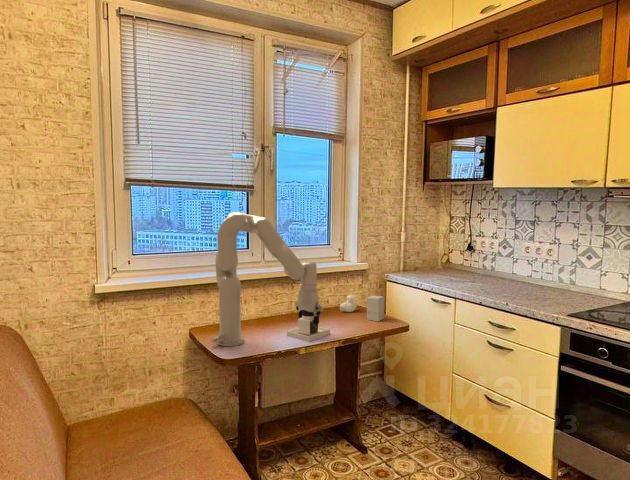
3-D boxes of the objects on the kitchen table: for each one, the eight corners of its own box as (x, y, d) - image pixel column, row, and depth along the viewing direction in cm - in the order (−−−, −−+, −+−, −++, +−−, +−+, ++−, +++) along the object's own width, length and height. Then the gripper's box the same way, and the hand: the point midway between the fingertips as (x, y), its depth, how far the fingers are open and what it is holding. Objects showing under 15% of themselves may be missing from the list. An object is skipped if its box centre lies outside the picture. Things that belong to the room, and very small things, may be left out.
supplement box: (384, 318, 241) (384, 296, 240) (378, 321, 234) (379, 298, 233) (372, 317, 245) (372, 294, 244) (366, 319, 238) (366, 297, 237)
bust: (340, 316, 254) (347, 303, 247) (335, 306, 259) (341, 294, 252) (357, 313, 260) (364, 301, 253) (351, 304, 265) (358, 291, 258)
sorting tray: (308, 341, 201) (308, 337, 201) (286, 335, 210) (286, 331, 209) (330, 333, 213) (330, 329, 213) (308, 328, 222) (308, 324, 222)
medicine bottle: (310, 335, 206) (310, 310, 205) (297, 333, 210) (297, 308, 209) (318, 332, 212) (318, 307, 211) (306, 329, 216) (306, 305, 215)
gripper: (290, 286, 212) (290, 320, 213) (317, 290, 201) (317, 327, 202) (300, 284, 218) (300, 317, 219) (327, 288, 207) (327, 323, 208)
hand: (308, 322), depth 211 cm, fingers open, 9 cm apart
